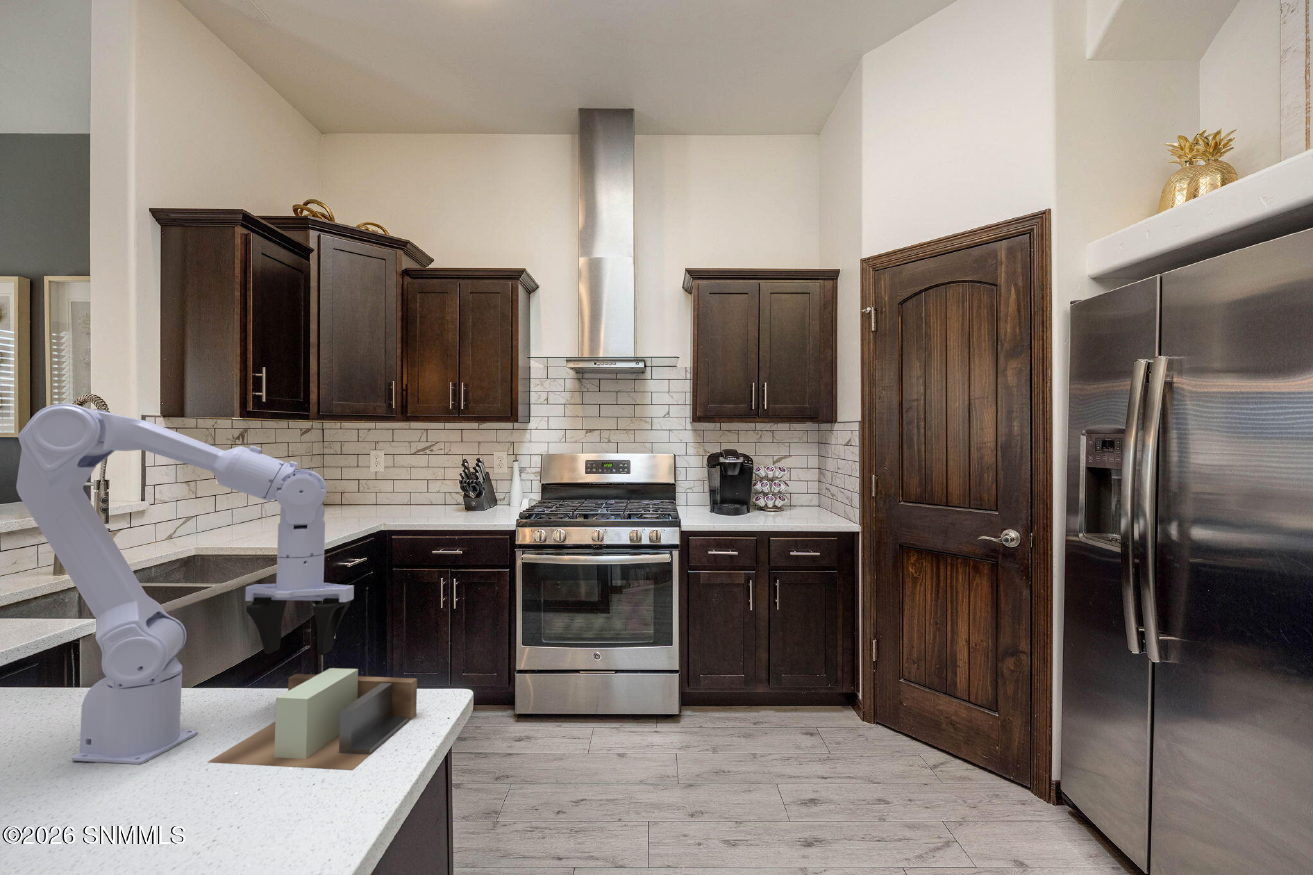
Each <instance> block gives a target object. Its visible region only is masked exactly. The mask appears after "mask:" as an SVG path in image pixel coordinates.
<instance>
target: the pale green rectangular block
mask: <svg viewBox="0 0 1313 875" xmlns="http://www.w3.org/2000/svg"><path fill="white" fill-rule="evenodd" d="M316 675H317V676H315V677H313V678H311V679H309V680H308V681H306V682H304V683H302V684H300V685H298V686H297V687H295V688H293V689H291V690H289V691H288V690H287V691H286V692H284V693H282V694H280V695H278V696H276V698H275V721H274V722H275V754H274V757H278V758H297V759H307V758H308V757H309V756H311V755H312V754H313V753H315V752H316V751H317V750H319V749H320V748H321V747H323V746H324V745H326V744H327V743H328V742H330V741H331V740H332V739H334V738H335V737H336V736H338V735H339V732H340V711H341V710H342V709H344V708H345V707H347V706H348V705H350V704H351V703H353V702H354V701H356V700H357V693H358V676H359V668H342V667H341V668H335V667H332V668H331V667H329V668H328V669H326V670H324V671H323V672H321V673H318V674H316Z"/></svg>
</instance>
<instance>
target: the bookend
mask: <svg viewBox="0 0 1313 875" xmlns="http://www.w3.org/2000/svg"><path fill="white" fill-rule="evenodd" d="M391 714H392V683H381V684H379V685H378V686H376V687H375V688H373V689H372V690H370V691H369V692H367V693H366V694H365V695H363V696H362V697H360V698H359V699H357V700H356V701H354V702H353V703H351V704H350V705H348V706H347V707H345V708H344V709H342V710H341V711H340V732H339V753H348V754H367V755H370V754H371V753H372V752H373V751H374V750H376V749H377V748H378V747H379V746H380V745H381V744H382V743H384V742H385V741H386V740H387V739H388V738H389V737H391V736H392V735H393V734H394V733H395V732H396V731H398V730H399V729H400V728H401V727H402V726H403V725H405V724H406V723H407V722H408V717H399V716H391ZM408 723H409V722H408ZM408 723H407V724H408ZM407 724H406V725H407ZM406 725H405V726H406ZM403 727H404V726H403ZM403 727H402V728H403ZM402 728H401V729H402ZM401 729H400V730H401ZM400 730H399V731H400ZM399 731H398V732H399ZM395 734H396V733H395ZM395 734H394V735H395ZM394 735H393V736H394ZM393 736H392V737H393ZM392 737H391V738H392ZM388 740H389V739H388ZM388 740H387V741H388ZM387 741H386V742H387ZM386 742H385V743H386ZM385 743H384V744H385ZM381 746H382V745H381ZM381 746H380V747H381ZM380 747H379V748H380ZM379 748H378V749H379ZM378 749H377V750H378ZM377 750H376V751H377ZM374 752H375V751H374ZM374 752H373V753H374ZM373 753H372V754H373ZM372 754H371V755H372ZM371 755H370V756H371Z"/></svg>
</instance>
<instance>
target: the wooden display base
mask: <svg viewBox="0 0 1313 875" xmlns="http://www.w3.org/2000/svg"><path fill="white" fill-rule="evenodd" d="M317 675H318V674H314V673H313V674H308V673H307V674H306V673H295V674H293V675H292V676H289V677H288V679H287V680H288V682H287V684H288V686H287V688H288V689H287V691H289V690H291V689H293V688H295V687H297V686H298V685H300V684H302V683H304V682H306V681H308V680H309V679H311V678H313V677H315V676H317ZM381 683H392V714H391V716H399V717H408V722H407V723H406V724H405V725H403V726H402V727H401V728H400V729H399V730H398V731H396V732H395V733H394V734H393V735H392V736H391V737H389V738H388V739H387V740H386V741H385V742H384V743H382V744H381V745H380V746H379V747H378V748H377V749H376V750H374V751H373V752H372V753H371V754H370V755H367V754H348V753H339V735H338V736H336V737H335V738H334V739H332V740H331V741H330V742H328V743H327V744H326V745H324V746H323V747H321V748H320V749H319V750H317V751H316V752H315V753H313V754H312V755H311V756H309V757H308V758H307V759H297V758H278V757H274V754H275V721H273V722H272V723H270V724H269V725H267V726H265V727H263V728H262V729H260V730H258V731H257V732H256V733H254V734H252V735H250V736H248V737H247V738H245V739H244V740H242V741H240V742H238V743H237V744H235V745H233V746H231V747H230V748H228V749H226V750H224V751H223V752H222V753H220V754H218V755H217V756H215V757H213V758H212V759H210V760H208V761H207V763H209V764H210V763H211V764H229V765H232V764H233V765H246V766H247V765H249V766H268V767H284V768H301V769H304V768H305V769H318V770H319V769H321V770H339V771H354V770H355V769H356V768H357V767H358V766H359V765H360V764H362V763H363V762H364V761H365V760H367V759H368V758H369V757H370V756H371V755H372V754H373V753H375V752H376V751H377V750H378V749H379V748H381V747H382V746H383V745H384V744H385V743H386V742H387V741H389V740H390V739H391V738H392V737H393V736H394V735H395V734H397V733H398V732H399V731H400V730H401V729H402V728H404V726H406V725H407V724H408V723H410V722H411V720H413V719H414V718H415V717H416V716H417V706H418V705H417V699H418V697H417V696H418V692H417V691H418V678H415V677H414V678H411V677H407V678H406V677H388V676H387V677H384V676H361V675H358V693H357V699H359V698H360V697H362V696H363V695H365V694H366V693H367V692H369V691H370V690H372V689H373V688H375V687H376V686H378V685H379V684H381Z"/></svg>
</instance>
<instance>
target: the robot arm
mask: <svg viewBox="0 0 1313 875" xmlns="http://www.w3.org/2000/svg"><path fill="white" fill-rule="evenodd" d="M17 438H18V441H19V444H20V447H21V452H20V457H19V458H20V459H19V465H18V471H17V472H18V473H17V479H16V488H15V489H16V491H17V494H18V497H19V498H20V500H21V501H22V503H23V504H24V506H25V507H26V509H27V511H28V512H29V514H30V516H31V517H32V519H33V520H34V522H35V524H36V525H37V527H38V528H39V530H40V532H41V533H42V534H43V536H44V538H45V539H46V542H48V544H49V546H50V548H51V550H52V551H53V553H54V554H55V555H56V557H57V558H58V560H59V562H60V564H61V566H62V567H63V568H64V570H65V571H66V573H67V574H68V576H69V578H70V579H71V580H72V583H73V584H74V586H75V588H76V589H77V590H78V592H79V594H80V595H81V597H82V599H83V600H84V601H85V604H86V605H87V607H88V609H89V610H90V612H91V613H92V615H93V616H94V618H95V620H96V621H95V622H96V624H95V641H96V642H97V644H98V646H99V648H100V650H101V670H102V673H103V674H104V675H105V677H103V678H102V679H100V680H98V681H97V682H96V683H94V684H93V685H92V686H91V687H90V688H89V690H88V691H87V693H86V694H85V696H84V698H83V701H82V704H81V711H80V712H81V713H80V714H81V716H80V735H79V752H78V753H76V754H73V755H72V756H71V760H72V761H77V762H78V761H79V762H95V763H109V764H110V763H111V764H112V763H114V764H126V765H127V764H132V765H142V764H144V763H146V762H148V761H150V760H152V759H154V758H156V757H159V755H161V754H163V753H165V752H167V751H168V750H169V751H170V750H171V749H172V748H175V747H177V746H179V745H181V744H182V743H184V742H186V741H188V740H190V739H192V738H193V737H195V736H197V735H198V733H199V731H198V730H197V729H196V730H194V729H193V730H191V729H181V713H182V712H181V709H182V708H181V707H182V685H183V684H182V683H183V682H182V679H183V665H182V664H181V663H180V662H179V660H178V658H177V656H176V655H178V654H179V653H180V651H181V650H182V649H183V647H184V646H185V644H186V640H187V631H186V628H185V626H184V624H183V623H182V622H181V621H180V620H179V619H177V618H175V617H173V616H171V615H169V614H168V613H167V612H166V611H165V610H164V608H163V606H162V605H161V604H160V603H159V602H157V600H155V599H153V598H152V597H151V596H149V595H148V594H147V593H146V591H145V590H144V588H143V587H142V585H141V583H140V581H139V579H138V578H137V575H136V574H135V573H134V571H133V569H132V568H131V567H130V565H129V563H128V562H127V560H126V558H125V557H124V554H123V553H122V552H121V550H120V548H119V547H118V545H117V544H116V542H115V540H114V538H113V536H112V535H111V533H110V532H109V530H108V528H107V526H105V523H104V522H103V520H102V519H101V518H102V517H100V515H99V514H98V511H97V510H96V508H95V507H94V505H93V502H91V500H90V499H89V496H87V494H86V492H85V491H84V486H85V484H86V483H87V481H88V480H89V478H90V476H91V475H92V474H93V472H94V470H95V469H96V467H97V466H98V465H99V464H100V463H101V462H102V461H104V460H106V459H107V458H108V457H110V456H111V455H112V454H113V453H114V452H118V451H120V452H133V451H146V452H149V453H151V454H155V455H157V456H161V457H165V458H168V459H172V460H174V461H178V462H180V463H184V464H186V465H190V466H194V467H197V468H200V469H203V470H206V471H208V472H212V473H213V475H214V477H215V479H216V481H217V483H218V485H220V486H222V487H225V488H228V489H231V490H234V491H237V492H240V493H244V494H245V495H249V496H252V497H255V498H258V499H260V500H265V501H267V502H271V501H272V500H276V501H277V503H278V504H279V505H280V510H279V511H280V515H279V519H280V520H279V523H278V526H277V551H276V553H277V554H276V555H277V556H276V579H275V580H276V582H275V583H262V584H260V583H259V584H258V583H257V584H255V583H254V584H252V585H248V586H246V587H245V600H244V601H245V602H247V601H249V602H251V603H252V604H248V605H247V606H246V613H247V614H248V616H249V617H250V618H251V619H252V621H253V623H254V625H255V626H256V628H257V631H258V634H259V637H260V639H261V642H262V647H263V651H264V654H265V655H270V654H273V653H274V652H276V651H279V650H280V648H281V642H282V626H283V625H282V624H283V619H284V613H285V610H286V606H287V602H288V601H322V602H320V603H317V604H315V605H313V606H312V612H313V614H314V619H315V624H316V632H317V633H316V634H317V635H316V638H317V641H316V650H317V655H318V656H324V655H326V654H327V653H329V652H331V651H332V648H333V645H334V641H335V638H336V637H335V636H336V634H337V632H338V628H339V627H340V626H339V625H340V624H341V621H342V619H343V617H344V615H345V613H346V612H347V610H348V608H349V607H350V605H351V603H352V602H351V601H353V600H354V598H355V597H354V596H355V594H354V593H355V585H353V584H352V585H350V584H349V585H348V584H347V585H346V584H337V583H330V582H324V578H325V577H324V576H325V574H324V573H325V544H326V542H325V541H326V540H325V538H326V537H325V534H326V521H325V520H324V517H325V512H326V510H325V507H324V504H322V503H323V502H324V500H325V499H326V497H327V491H328V490H327V488H328V487H327V483H326V481H325V479H324V478H323V477H322V475H320V474H319V473H317V472H315V471H313V470H312V469H309V468H300V469H297V468H298V466H299V463H298V462H296V461H292V460H290V461H289V462H285V461H283V460H280V459H278V458H275V457H273V456H272V457H271V456H268V455H266V454H263V453H262V451H263V449H262V448H261V447H257V446H254V445H250V447H249V448H247V447H244V446H242V445H240V446H236V447H233V448H230V449H225V450H224V449H221V448H218V447H216V446H213V445H211V444H208V443H205V442H203V441H200V440H197V439H195V438H193V437H189V436H188V435H184V434H182V433H179V432H177V431H174V430H171V429H170V428H166V427H164V426H161V425H158V424H156V423H154V422H151V421H147V420H143V419H139V418H135V417H130V416H125V415H120V414H116V413H111V412H109V411H107V410H102V409H97V408H95V409H92V408H86V407H83V406H80V405H77V404H73V403H57V404H52V405H47V406H46V407H43V408H41V409H40V410H39V411H37V412H36V413H34V415H33V416H32V417H31V418H30V420H28V422H27V423H26V424H25V426H24V427H23V428H22V429H21V431H20V432H19V433H18V434H17Z"/></svg>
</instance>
